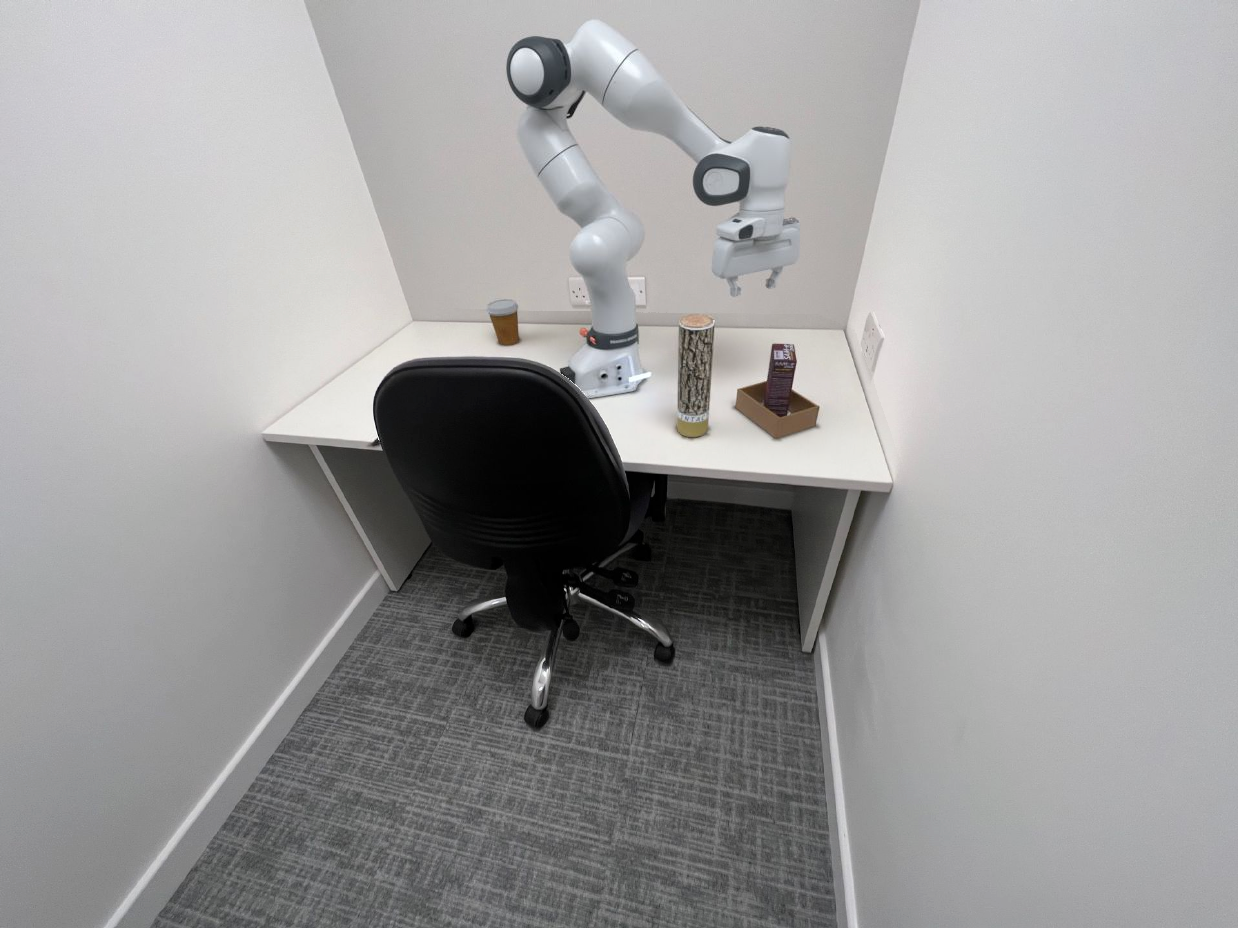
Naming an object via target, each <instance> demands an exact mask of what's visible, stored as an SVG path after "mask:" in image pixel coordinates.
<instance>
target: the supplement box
mask: <svg viewBox="0 0 1238 928" xmlns="http://www.w3.org/2000/svg"><path fill="white" fill-rule="evenodd" d="M797 363H798V359H797V354H796V348H795V344H794V343H793V344H792V343H772V344H771V348H770V356H769V362H768V371H767V375H766V381H767V383H766V390H765V397H764V401H763V403H762V405H763V406H764V407H766V408H767V409H769V410H770V411H771V412H773V413H774V414H776V415H777V416H778V417H783V416H787V415H788V413H789V410H788V407H789V402H790V396H791V391H792V390H793V384H794V379H795V374H796V368H797Z"/></svg>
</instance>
